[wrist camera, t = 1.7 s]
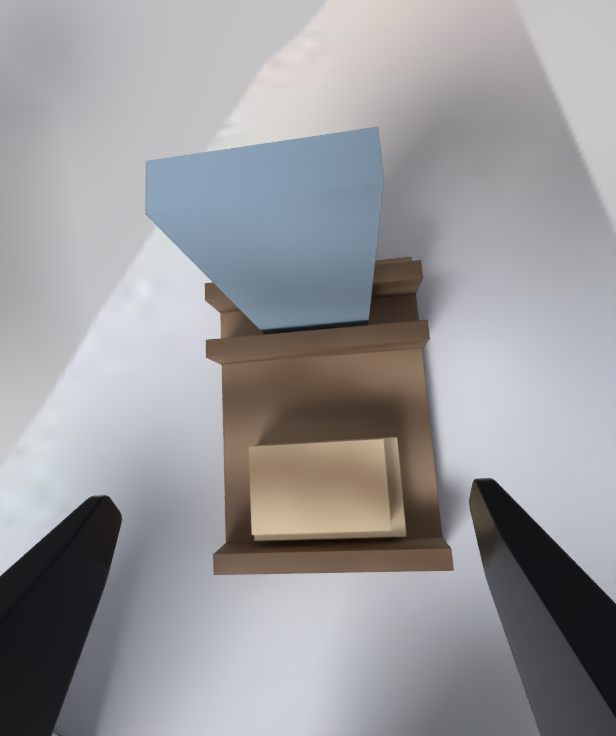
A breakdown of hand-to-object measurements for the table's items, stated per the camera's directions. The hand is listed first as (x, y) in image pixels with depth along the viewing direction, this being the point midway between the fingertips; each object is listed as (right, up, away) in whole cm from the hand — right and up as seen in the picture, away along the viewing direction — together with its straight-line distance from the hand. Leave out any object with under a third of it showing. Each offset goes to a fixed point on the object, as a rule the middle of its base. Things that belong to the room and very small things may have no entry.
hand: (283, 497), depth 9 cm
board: (+1, +6, +14) cm, 15 cm away
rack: (+2, +1, +14) cm, 14 cm away
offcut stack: (+2, -3, +12) cm, 13 cm away
